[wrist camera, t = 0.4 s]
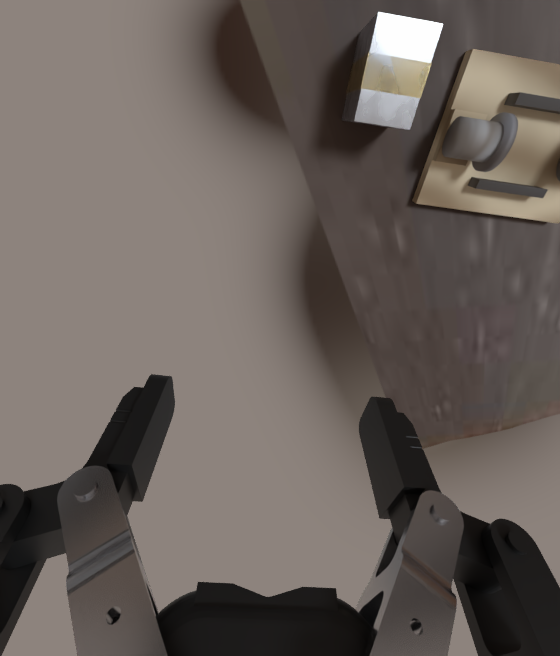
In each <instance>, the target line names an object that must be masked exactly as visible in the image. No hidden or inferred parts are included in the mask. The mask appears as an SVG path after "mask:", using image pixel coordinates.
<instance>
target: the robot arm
mask: <svg viewBox="0 0 560 656" xmlns="http://www.w3.org/2000/svg"><path fill="white" fill-rule="evenodd" d="M174 406H175V399H174V390H173V381H172V377H171V376H162V375H150V376H149V378H148V380H147V382H146V384H145V386H144V388H140V387H134V388H133V389H132V390H130V392H128V393H127V394H126V395H125V396H124V397H123V398H122V400H121V402H120V403H119V405H118V407H117V409H116V412H114V414H113V416H112V418H111V421H110V422H109V423H108V425H107V427H106V429H105V431H104V433H103V434H102V436H101V438H100V440H99V442H98V444H97V445H96V447H95V449H94V451H93V453H92V454H91V456H90V458H89V460H88V462H87V463H86V464H85V466H84V467H83V468H82V469H80V470H78V471H76V472H75V473H74V474H72V475H71V476H70V477H69V478H68V479H67V480H65V481H63V482H60V483H58V484H54V485H50V486H46V487H41V488H37V489H33V490H28V491H24V492H23V490H22V489H21V488H20V487H18V486H16V485H13V484H3V485H0V656H1V655H2V653H3V651H4V649H5V646H6V645H7V642H8V640H9V638H10V636H11V634H12V632H13V630H14V628H15V625H16V623H17V621H18V619H19V617H20V615H21V612H22V610H23V608H24V606H25V604H26V602H27V600H28V598H29V595H30V593H31V591H32V589H33V587H34V585H35V583H36V580H37V578H38V576H39V574H40V572H41V570H42V568H43V565H44V563H45V561H46V559H47V558H51V557H54V556H57V555H61V554H64V553H66V555H67V561H68V567H69V574H68V576H67V580H66V582H67V583H66V584H67V595H68V600H69V607H70V613H71V619H72V625H73V631H74V638H75V643H76V650H77V656H447V655H448V650H449V645H450V639H451V634H452V628H453V624H454V618H455V613H456V605H457V600H456V596H455V595H454V594H453V593H452V590H451V586H452V581H453V579H454V582H455V584H456V588H457V591H458V594H459V597H460V600H461V603H462V606H463V609H464V613H465V616H466V619H467V622H468V625H469V628H470V631H471V634H472V637H473V641H474V644H475V647H476V650H477V653H478V656H560V588H559V586H558V584H557V582H556V580H555V578H554V576H553V575H552V573H551V571H550V569H549V567H548V565H547V563H546V561H545V560H544V558H543V556H542V554H541V552H540V550H539V548H538V547H537V545H536V543H535V542H534V540H533V539H532V538H531V537H530V535H529V534H528V533H527V532H526V531H525V530H524V529H522V528H521V527H520V526H518V525H517V524H515V523H513V522H512V521H509V520H506V519H497V520H495V521H494V522H492V523H491V524H489V523H486V522H484V521H482V520H479V519H477V518H474V517H472V516H469V515H467V514H465V513H463V512H461V511H459V509H458V507H457V506H456V505H455V504H454V503H453V501H452V500H450V499H449V498H448V497H447V496H445V495H444V494H442V493H441V491H440V489H439V487H438V485H437V482H436V480H435V478H434V475H433V473H432V470H431V468H430V465H429V463H428V460H427V458H426V456H425V453H424V451H423V450H422V446H421V444H420V441H419V439H418V438H417V437H418V436H417V434H416V431H415V429H414V427H413V424H412V423H411V422H410V421H409V419H408V418H407V417H406V416H405V415H404V413H399V412H397V410H396V408H395V405H394V403H393V401H392V399H390V398H381V397H371V398H370V400H369V402H368V404H367V406H366V408H365V410H364V412H363V414H362V417H361V419H360V422H359V433H360V438H361V442H362V447H363V451H364V455H365V459H366V463H367V468H368V472H369V476H370V480H371V484H372V489H373V493H374V497H375V501H376V505H377V509H378V514H379V518H382V519H390V520H391V523H392V529H391V531H390V533H389V535H388V538H387V540H386V543H385V545H384V548H383V550H382V553H381V555H380V558H379V560H378V563H377V565H376V567H375V570H374V572H373V575H372V577H371V579H370V582H369V583H368V585H367V587H366V588H365V590H364V592H363V593H362V596H361V597H360V600H359V602H358V604H357V607H356V609H354V608H353V607H351V606H350V605H349V604H347V603H346V602H344V601H342V600H341V599H338V598H337V594H336V588H316V587H301V588H298V589H294V590H291V591H288V592H285V593H282V594H278V595H275V596H272V597H265V596H262V595H260V594H257V593H255V592H252V591H250V590H247V589H245V588H242V587H240V586H237V585H235V584H230V583H209V582H198V585H197V591H194V592H190V593H188V594H186V595H183V596H181V597H179V598H178V599H176V600H174V601H173V602H171V603H170V604H169V605H168V606H166V607H165V608H164V609H163V610H162V611H161V612H160V613H159V612H158V609H157V607H156V603H155V600H154V597H153V594H152V591H151V588H150V585H149V582H148V579H147V576H146V573H145V570H144V567H143V564H142V561H141V558H140V555H139V551H138V548H137V545H136V542H135V539H134V536H133V533H132V530H131V526H130V523H129V520H128V517H127V514H128V512H129V509H130V507H131V504H132V501H141V502H142V501H143V499H144V496H145V493H146V490H147V487H148V484H149V482H150V479H151V476H152V473H153V470H154V467H155V465H156V462H157V459H158V456H159V453H160V451H161V448H162V445H163V442H164V439H165V436H166V433H167V431H168V428H169V425H170V422H171V419H172V416H173V412H174Z"/></svg>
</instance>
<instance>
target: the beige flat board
mask: <svg viewBox="0 0 560 656" xmlns="http://www.w3.org/2000/svg"><path fill="white" fill-rule="evenodd" d="M412 201H413V202H415V203H416V204H423V205H430V206H437V207H445V208H452V209H459V210H466V211H473V212H480V213H487V214H495V215H502V216H509V217H516V218H523V219H530V220H538V221H545V222H552V223H559V222H560V65H559V64H554V63H548V62H543V61H537V60H532V59H526V58H520V57H515V56H509V55H504V54H498V53H493V52H487V51H482V50H476V49H472V50H469V51H466V52H465V55H464V58H463V61H462V63H461V66H460V69H459V72H458V74H457V77H456V80H455V83H454V86H453V88H452V91H451V94H450V97H449V100H448V102H447V105H446V108H445V111H444V113H443V116H442V119H441V122H440V125H439V127H438V130H437V133H436V136H435V139H434V141H433V144H432V147H431V150H430V152H429V155H428V158H427V161H426V164H425V166H424V169H423V172H422V175H421V178H420V180H419V183H418V186H417V189H416V191H415V194H414V197H413V200H412Z"/></svg>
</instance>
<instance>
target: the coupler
mask: <svg viewBox="0 0 560 656" xmlns="http://www.w3.org/2000/svg"><path fill="white" fill-rule="evenodd" d="M442 26H443V24H441V23H436V22H430V21H425V20H419V19H414V18H409V17H403V16H398V15H392V14H387V13H382V12H378V13H377V14H376V15H375V16H374V17H373V18H372V19H371V20H370V22H369V23H368V24H367V25H366V26H365V27H364V28H363V29H362V30H361V31H360V32H359V36H358V41H357V46H356V51H355V56H354V61H353V64H352V68H351V73H350V78H349V83H348V88H347V93H346V94H347V96H346V101H345V106H344V110H343V115H342V120H343V121H349V122H355V123H362V124H368V125H374V126H381V127H387V128H397V129H407V130H410V128H411V125H412V122H413V118H414V115H415V112H416V109H417V106H418V102H419V99H420V98H421V95H422V92H423V89H424V86H425V82H426V79H427V76H428V73H429V70H430V67H431V61H432V58H433V55H434V52H435V48H436V45H437V42H438V39H439V36H440V32H441V29H442Z"/></svg>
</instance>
